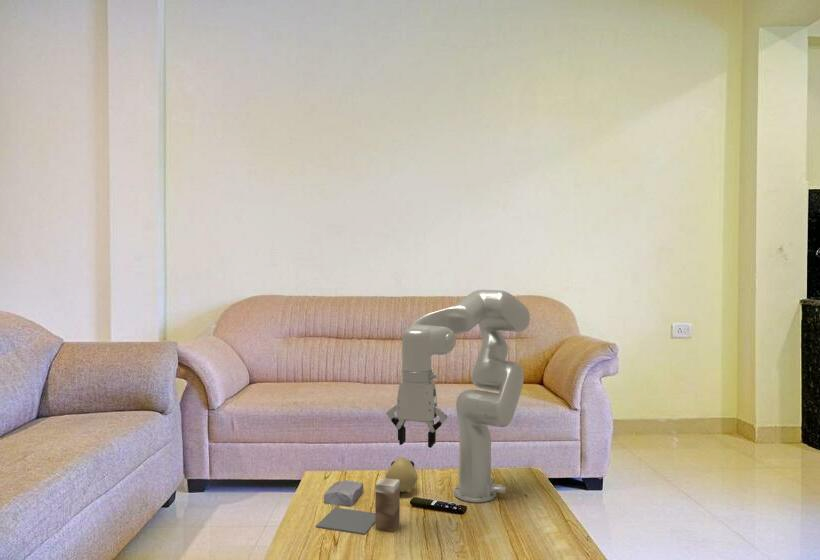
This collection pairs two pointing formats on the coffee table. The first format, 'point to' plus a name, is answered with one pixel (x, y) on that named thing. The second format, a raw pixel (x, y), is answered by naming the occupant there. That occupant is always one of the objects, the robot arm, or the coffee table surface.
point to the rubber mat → (348, 521)
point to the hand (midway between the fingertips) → (416, 444)
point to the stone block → (343, 493)
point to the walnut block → (387, 504)
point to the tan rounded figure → (403, 473)
